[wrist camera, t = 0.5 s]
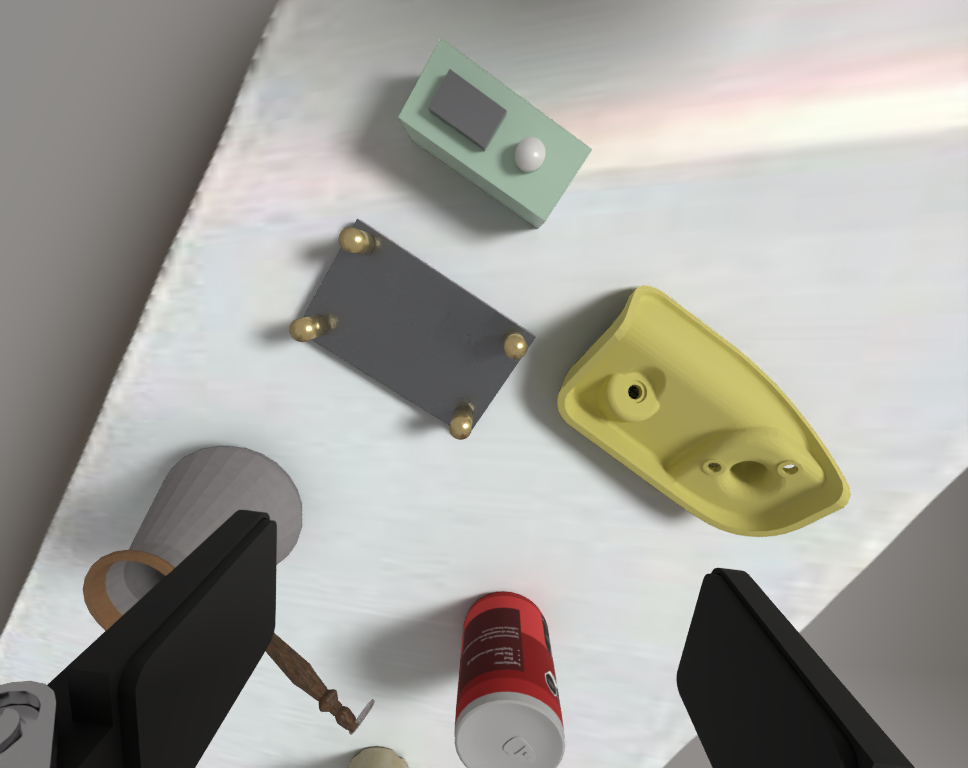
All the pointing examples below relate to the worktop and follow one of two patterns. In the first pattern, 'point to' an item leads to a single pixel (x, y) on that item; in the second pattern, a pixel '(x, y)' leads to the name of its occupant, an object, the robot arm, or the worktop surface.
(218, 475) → the coffee pot
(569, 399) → the plastic component
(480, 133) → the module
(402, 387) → the chassis
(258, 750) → the worktop surface
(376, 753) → the flower pot
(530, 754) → the canned food
